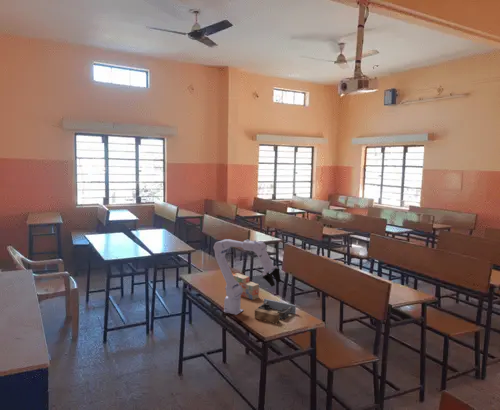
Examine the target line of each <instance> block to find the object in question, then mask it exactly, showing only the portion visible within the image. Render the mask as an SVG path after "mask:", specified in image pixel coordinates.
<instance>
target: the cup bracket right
mask: <svg viewBox="0 0 500 410" xmlns="http://www.w3.org/2000/svg"><path fill="white" fill-rule="evenodd" d="M277 313H279V318H280V319H279V320H282V319H284V320H285V319H286V317H287V318H288V317H289V316H290V313H289V309H287V308H282V311H280V310H277Z"/></svg>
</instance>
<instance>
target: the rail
mask: <svg viewBox="0 0 500 410" xmlns="http://www.w3.org/2000/svg"><path fill="white" fill-rule="evenodd" d="M256 318H258V319H257V320H260V319H262V320H261V321H264V320H266V321H265V322H268V321H270V322H269V323H271V322H274V323H273V324H275V323H277V322H278V321H279V322H280V319H279V313H278V312H275V311H267V310H263V309H259V308H258V307H257V308H255V310H254V319H256ZM279 322H278V323H279ZM278 323H277V324H278Z"/></svg>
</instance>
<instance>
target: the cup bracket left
mask: <svg viewBox="0 0 500 410" xmlns="http://www.w3.org/2000/svg"><path fill="white" fill-rule="evenodd" d="M257 308H259V309H263V310H267V311H270V310H271V308H270V305H269V304H265V303H264V302H263V303H262V304H261V305H260V306H258V307H257Z"/></svg>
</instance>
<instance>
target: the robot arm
mask: <svg viewBox="0 0 500 410" xmlns="http://www.w3.org/2000/svg"><path fill="white" fill-rule="evenodd" d="M266 247H267V245H266V243H265V242H264V241H262V240H259V241H257V240H250V239H245V240H243V241H239V240H235V239H231V238H228V239H227V238H224V239H222V240H219V241H216V242H214V245H213V250H214V251H213V252H214V259H216V260H215V261H216V262H217V265H218V267H219V269H220V272H221V274H222V276H223V279H224V281H225V284H226V285H225V295H226V296H225V298H224V300H223V303H224V304H223V312H224V313H226V314H231V315H235V316H237V315H239V314H240V313H241V312H244V309H243V308H241V307H242V306H241V300H242V298H241V294H242V292H243V288H242V287H241V286H240V284H239V282H237V281H236V280H235V279H234V277H233V274H234V273H233V272H232V270H231V268H230V265H229V263H228V261H227V258H226V254H227V253H228V251H229V249H231V248H241V249H243V251H249V252H253V253H254V254H256V256H257V257H258V260H259V261H260V265H261V266H262V268H263V271H262V272H261V274H262V279H264V280H265V281H266V282H267V283H268V284H269V286H270V287H275V286H276V285H275V281H276V283H277V284H279V283H280V282H281V281H282V280H281V273H280V268H279V267H278V266H277V265H274V263H273V262H272V260H271V258H270V256H269V254H268V251H267V248H266ZM274 280H275V281H274Z"/></svg>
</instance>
